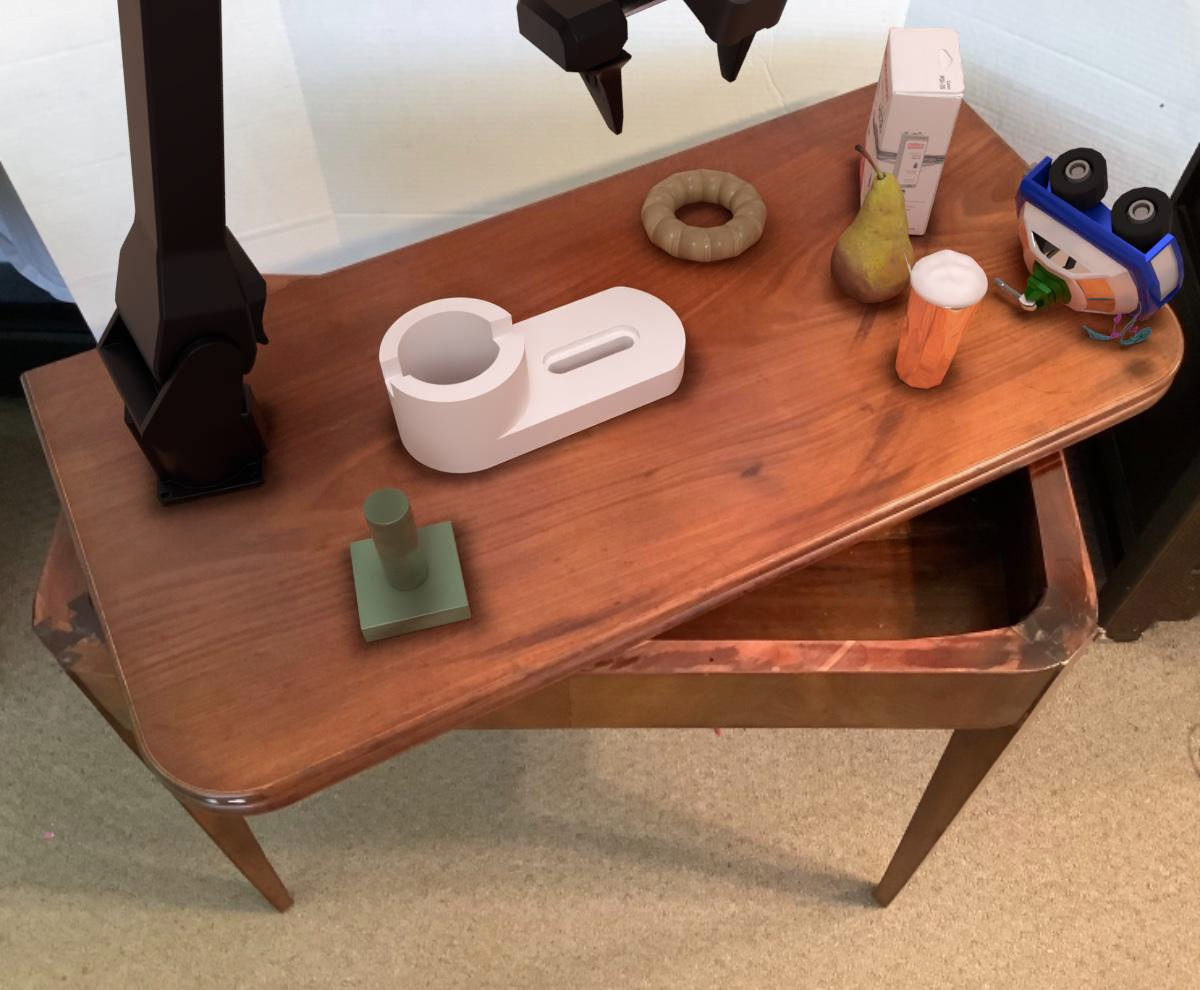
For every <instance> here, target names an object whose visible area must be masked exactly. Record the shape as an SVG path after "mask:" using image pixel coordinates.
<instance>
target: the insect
mask: <svg viewBox="0 0 1200 990" xmlns="http://www.w3.org/2000/svg"><path fill="white" fill-rule="evenodd" d="M1137 301H1138V303H1140V302H1139V300H1137ZM1141 308H1142V307H1141V303H1140V312H1141ZM1140 312H1139V314H1140ZM1139 314H1137V315H1136V316H1134V318H1132V319H1131V321H1129V322H1128V323H1127V324H1126V325H1125V327H1124V328H1122V330H1120V332H1115V328H1116V325H1117V324H1119V323H1120V321H1121V319H1122V317H1123V316H1122V315H1123V314H1122V312H1119V314H1117V315H1116V316H1115V317H1114V318H1112V320H1113V322H1114V324H1113V328H1112V330H1113V331H1112V333H1110V335H1105V334H1101V333H1098V332H1095V331H1093V329H1092V328H1089V327H1087V326H1086V325H1081V327H1082V329H1084V330H1085V331H1086V332H1087V333H1088V335H1089V336H1088V337H1089V338H1091V339H1093V340H1096V341H1097V340H1099V341H1107V340H1112V339H1116V338H1118V337H1119V338H1120V339H1119V342H1118V343H1119V344H1120V345H1122V346H1129V345H1133V344H1137V343H1140V342H1142V341H1145V340H1148V339H1149V337H1150V336H1151V335H1152V334H1153V331H1152V327H1149V326H1146V327H1144V328H1141V329H1140V330H1138V329H1139V326H1138V325H1136V326H1134V325H1135V322H1136V321H1137V320H1136V318H1137V316H1138V315H1139ZM1135 317H1136V318H1135ZM1132 327H1133V328H1132ZM1131 328H1132V329H1131ZM1126 332H1129V333H1131V334H1134V335H1131V336H1130V338H1129V339H1124V335H1125V333H1126ZM1099 356H1102V354H1099ZM1141 365H1142V364H1141ZM1141 365H1140V364H1139V367H1141ZM1114 367H1116V365H1115V364H1114Z"/></svg>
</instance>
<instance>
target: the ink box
mask: <svg viewBox="0 0 1200 990" xmlns="http://www.w3.org/2000/svg"><path fill="white" fill-rule="evenodd" d="M962 61H963V59H962V54H961V44H960V36H959V32H958V30H956V29H954V28H949V27H948V28H945V27H941V28H940V27H897V26H896V27H893V26H892V27H890V28H889V29H888V35H887V39H886V44H885V49H884V53H883V58H882V62H881V66H880V71H879V76H878V81H877V85H876V89H875V94H874V99H873V104H872V107H871V108H872V109H871V113H870V117H869V121H868V125H867V130H866V134H865V139H864V144H863V147H864V148H865V149H866V151H867V152H868V153H869V155H870V156H871V158H872V160H873V161H874V163H875V164H876V166H877V167H878V168H879V169H880V170H881V172H884V171H885V172H888V173H890V174H892V175H893V176H894V177H895V178H896V179H897V181H898V182H899V184H900V187H901V190H902V192H903V195H904V199H905V208H906V213H907V219H908V233H909V235H914V236H915V235H916V236H924V235H925V233H926V230H927V227H928V224H929V220H930V217H931V212H932V209H933V205H934V201H935V198H936V195H937V190H938V187H939V184H940V179H941V176H942V172H943V168H944V166H945V165H944V164H945V161H946V157H947V154H948V151H949V146H950V144H951V140H952V136H953V133H954V129H955V126H956V122H957V119H958V115H959V112H960V109H961V104H962V101H963V98H964V91H965V89H966V88H965V82H964V79H965V77H964V70H963V66H962V63H963V62H962ZM876 175H877V173H876V171H875V170H874V169H873V167H872V166H871V164H870V163H869V161H867V159H866V158H865V157H864V156H863V155H862V154H861V157H860V162H859V186H860V187H859V189H860V191H859V192H860V208H861V207H862V205H863V202H864V199H865V197H866V194H867V192H868V190H869V189H870V187H871V185H872V183H873V180H874V178H875V177H876Z"/></svg>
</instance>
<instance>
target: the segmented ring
mask: <svg viewBox="0 0 1200 990" xmlns="http://www.w3.org/2000/svg"><path fill="white" fill-rule="evenodd" d="M701 202H703V203H707V204H708V203H709V204H715V205H720V206H722V207H723V208H725V209H727V210H728V211H729V212H730V213H731V214H732V219H729V221H726V223H724V224H721V225H717V226H716V225H715V226H710V227H702V226H701V227H700V226H694V225H688V224H687V223H684V222H683V221H682V220H680V219H679V218H677V217H676V215H675V213H676V211H678V210H679V209H680V208H681V207H684V205H685V206H686V205H690V204H696V203H701ZM767 216H768V208H767V206H766V204H765V202H764V201H763V198H762V197H761V195H760V194H759V191H758V190H757V188H756V187H755V186H754V185H752V184H751V183H749V182H748V181H746V180H744V179H742V178H741V177H739V176H737V175H735V174H733V173H732V172H727V171H722V170H715V169H707V168H697V169H691V170H687V171H686V170H685V171H681V172H680V171H679V172H676V173H673V174H671V175H669V176H668V177H666V178H664V179H663V180H661V181H660V182H658V183H657V184H655V185H653V186H652V187H651V188H650V189H649V191H648V193H647V195H646V198H645V200H644V202H643V205H642V208H641V211H640V220H641V223H642V225H643V227H644V230H645V232H646V234H647V237H648V239H649V241H650V242H651V243H652V244H654V245H655V246H656V247H658V248H660V249H661V250H663V251H664V252H666V253H667V254H669V255H670V256H673V257H674V258H677V259H682V260H688V261H694V262H700V263H711V262H717V261H721V260H726V259H732V258H735V257H737V256H739V255H741V254H742V253H743V252H745V251H746V250H748V249H749V248H750V247H752V246H753V245H754V244H756V243H757V242H758V241H759V240H760V239H761V237H762V235H763V231H764V228H765V224H766V222H767V221H766V220H767Z"/></svg>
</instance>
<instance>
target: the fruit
mask: <svg viewBox="0 0 1200 990" xmlns="http://www.w3.org/2000/svg"><path fill="white" fill-rule="evenodd" d="M854 150H855V151H857V152H858V153H860V154H861V156H862V155H863V156H864V157H865V158H866V159H867V161H869V163H870V164H871V166H872V167H873V169H874V170H875V171H876V173H877V175H876V177H875V178H874V180H873V183H872V185H871V187H870V189H869V190H868V192H867V194H866V197H865V199H864V202H863V205H862V207H861V206H860V209H859V211H858V213H857V214H856V217H855V218H854V220H853V221H852V223H851V224H850V225H849V226H848V227H847V228H846V229H845V230H844V231H843V232H842V233H841V234H840V235H839V237H838V238H837V240H836V242H835V244H834V245H833V249H832V252H831V255H830V256H831V257H830V267H829V268H830V275H831V277H832V280H833V282H834V283H835V284H836V285H837V287H838V288H839V290H840V291H842V292H843V294H845V295H846V296H848V297H849V298H851V299H853V300H855V301H857V302H860V303H861V304H862V303H863V304H876V303H882V302H885V301H888V300H891V299H893V298H894V297H897V296H898V295H900V294H901V293H902V292H904V291H905V290H906V289H907V288H908V287H909V283H910V272H909V269H908V265H907V261H906V258H905V254H904V247H905V250H906V253H907V257H908V260H909V264H910V268H911V271H912V269H913V267H914V265H915V264H916V256H915V251H914V248H913V243H912V242H911V239H910V238H909V237H910V236H909V235H910V234H909V233H908V219H907V213H906V208H905V199H904V195H903V192H902V190H901V187H900V184H899V182H898V181H897V179H896V178H895V177H894V176H893V175H892V174H890V173H888V172H885V171H884V172H881V170H880V169H879V168H878V167H877V166H876V164H875V163H874V161H873V160H872V158H871V156H870V155H869V153H868V152H867V151H866V149H865V148H864V146H862V145H861V144H855V146H854Z"/></svg>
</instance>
